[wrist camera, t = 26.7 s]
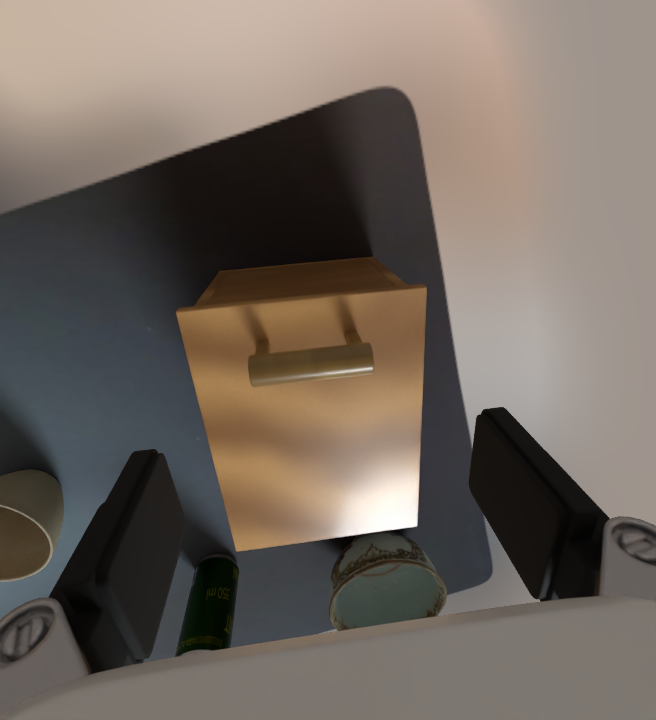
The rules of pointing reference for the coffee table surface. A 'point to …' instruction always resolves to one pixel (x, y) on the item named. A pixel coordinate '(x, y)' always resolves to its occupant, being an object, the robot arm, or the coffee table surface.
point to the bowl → (383, 583)
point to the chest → (298, 280)
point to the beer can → (210, 606)
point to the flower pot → (28, 522)
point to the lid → (312, 410)
